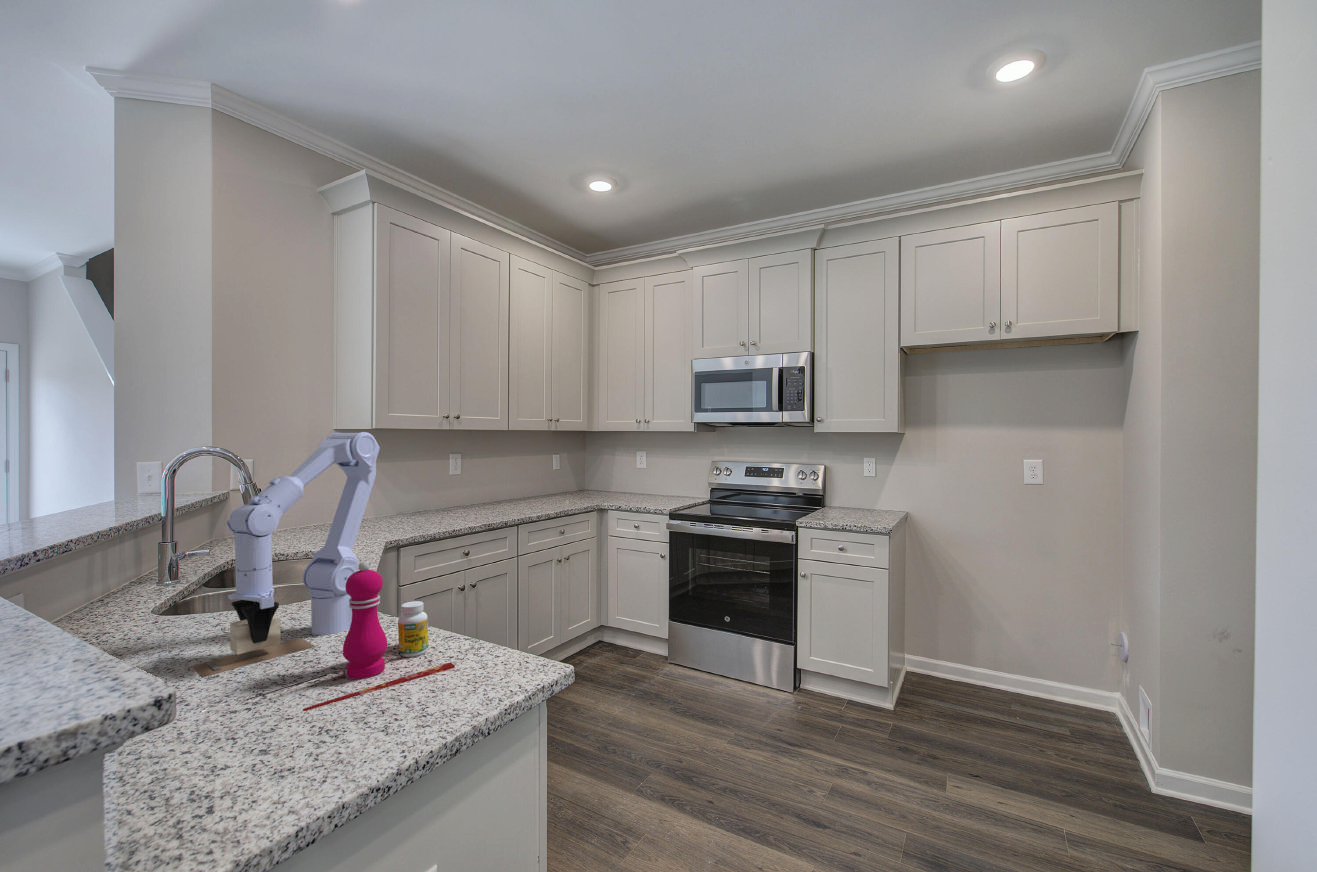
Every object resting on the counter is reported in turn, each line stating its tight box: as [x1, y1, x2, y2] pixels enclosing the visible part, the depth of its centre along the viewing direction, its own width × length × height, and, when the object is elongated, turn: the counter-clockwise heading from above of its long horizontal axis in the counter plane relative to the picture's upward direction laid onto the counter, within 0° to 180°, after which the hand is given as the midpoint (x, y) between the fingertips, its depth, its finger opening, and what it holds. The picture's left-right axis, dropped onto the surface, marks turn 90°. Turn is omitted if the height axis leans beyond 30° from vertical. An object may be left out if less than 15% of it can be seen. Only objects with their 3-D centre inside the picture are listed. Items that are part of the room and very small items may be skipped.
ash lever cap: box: [229, 614, 282, 655], centre depth 109 cm, size 7×4×5 cm, turn 140°
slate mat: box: [246, 674, 328, 701], centre depth 101 cm, size 12×10×1 cm
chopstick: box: [302, 661, 456, 712], centre depth 98 cm, size 2×24×1 cm, turn 134°
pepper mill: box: [342, 561, 388, 680], centre depth 104 cm, size 7×7×20 cm
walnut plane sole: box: [190, 637, 317, 678], centre depth 109 cm, size 18×8×1 cm, turn 140°
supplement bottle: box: [397, 600, 429, 658], centre depth 113 cm, size 5×5×10 cm
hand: (255, 638), depth 109 cm, fingers closed on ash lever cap, 4 cm apart
